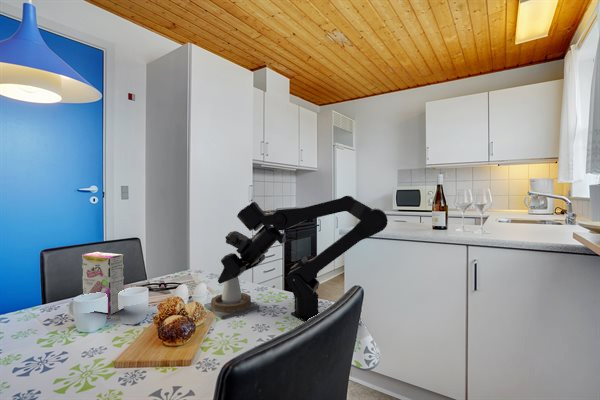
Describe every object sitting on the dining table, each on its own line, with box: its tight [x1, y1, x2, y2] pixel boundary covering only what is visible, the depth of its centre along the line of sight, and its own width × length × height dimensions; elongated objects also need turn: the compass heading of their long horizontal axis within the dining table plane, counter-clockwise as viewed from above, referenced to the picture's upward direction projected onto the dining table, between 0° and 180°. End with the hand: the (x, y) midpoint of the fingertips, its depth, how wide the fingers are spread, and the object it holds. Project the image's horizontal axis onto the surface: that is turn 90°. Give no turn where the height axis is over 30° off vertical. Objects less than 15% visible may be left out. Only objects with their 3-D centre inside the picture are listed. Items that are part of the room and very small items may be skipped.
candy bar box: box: [81, 251, 125, 316], centre depth 87 cm, size 11×5×16 cm, turn 71°
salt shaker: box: [221, 276, 242, 305], centre depth 89 cm, size 6×6×13 cm
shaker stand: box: [203, 292, 260, 320], centre depth 89 cm, size 12×12×3 cm
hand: (226, 278), depth 89 cm, fingers open, 9 cm apart
